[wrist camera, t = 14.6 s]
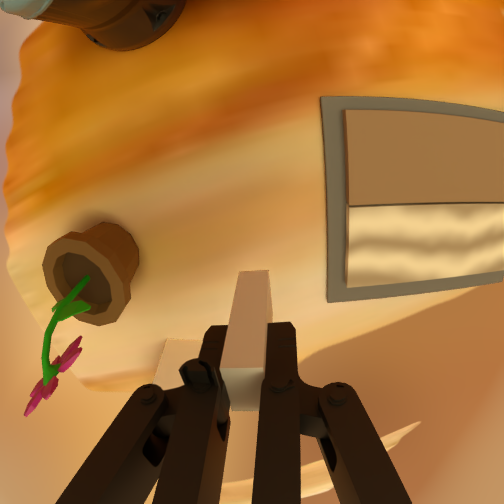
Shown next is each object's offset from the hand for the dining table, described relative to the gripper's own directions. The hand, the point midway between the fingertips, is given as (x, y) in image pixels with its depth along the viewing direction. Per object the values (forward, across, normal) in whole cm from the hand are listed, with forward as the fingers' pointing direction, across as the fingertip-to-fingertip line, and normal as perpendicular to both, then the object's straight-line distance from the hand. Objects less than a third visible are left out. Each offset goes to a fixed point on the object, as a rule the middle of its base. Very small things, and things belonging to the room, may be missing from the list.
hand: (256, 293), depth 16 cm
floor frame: (+26, +25, -4) cm, 37 cm away
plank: (+25, +25, -10) cm, 37 cm away
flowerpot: (+27, -26, -9) cm, 38 cm away
